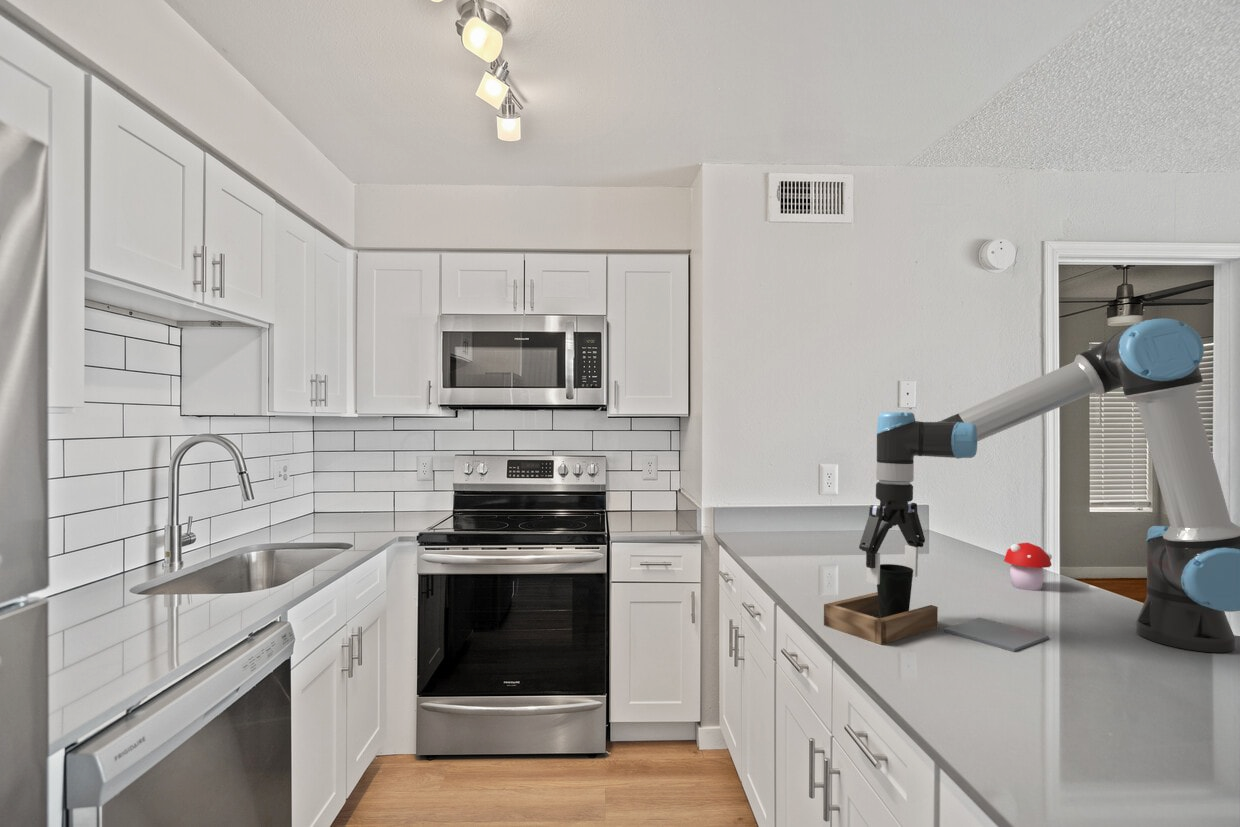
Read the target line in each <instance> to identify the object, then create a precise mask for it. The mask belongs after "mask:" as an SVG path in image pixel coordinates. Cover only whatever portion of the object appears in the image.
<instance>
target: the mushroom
mask: <svg viewBox="0 0 1240 827" xmlns="http://www.w3.org/2000/svg"><path fill="white" fill-rule="evenodd" d="M1052 558H1053V556H1052V554H1051V553H1050V552H1047V551H1045V550H1044V549H1043V548H1042V547H1041V546H1038V545H1035V544H1033V543H1030V542H1021V543H1013V544H1011V545H1010V548H1008V549H1007V550H1006V553H1005V556H1004V560H1003V562H1005V563H1006V564H1009V565H1011V567H1010V570H1009V575H1010V580H1011V585H1012V587H1013V588H1015V589H1019V590H1024V591H1041V590H1042V588H1043V583H1044V577H1045V574H1044V569H1043V568H1050V567H1051V566H1052V561H1051V560H1052Z"/></svg>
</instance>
